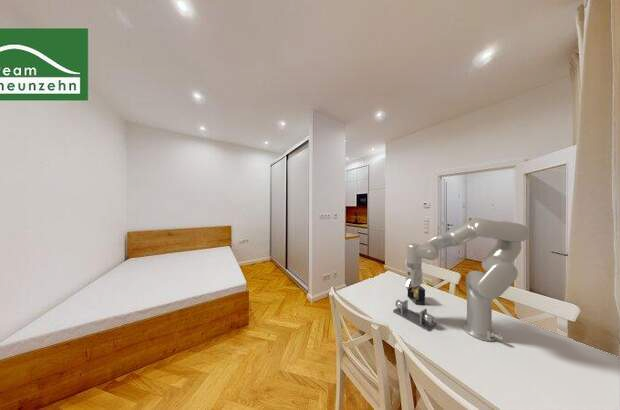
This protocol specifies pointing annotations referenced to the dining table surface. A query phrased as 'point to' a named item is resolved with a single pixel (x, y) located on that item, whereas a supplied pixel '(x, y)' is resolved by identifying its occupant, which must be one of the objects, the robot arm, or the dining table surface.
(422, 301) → the small box
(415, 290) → the valve
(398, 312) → the grey bar with knobs
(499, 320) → the dining table surface
